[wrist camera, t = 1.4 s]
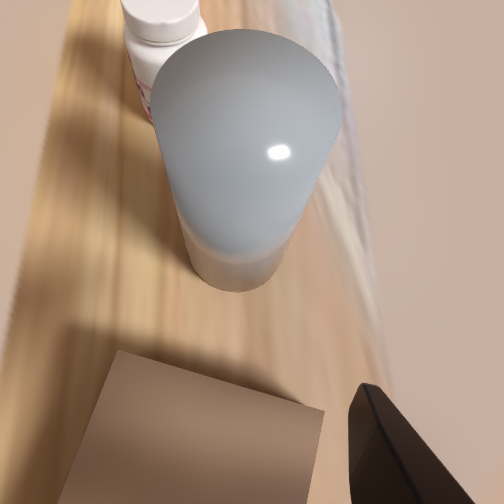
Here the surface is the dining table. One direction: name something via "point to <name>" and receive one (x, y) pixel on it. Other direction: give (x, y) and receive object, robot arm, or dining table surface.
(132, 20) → the pill bottle
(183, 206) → the grey cylinder
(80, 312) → the dining table surface
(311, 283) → the dining table surface
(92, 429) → the walnut box
